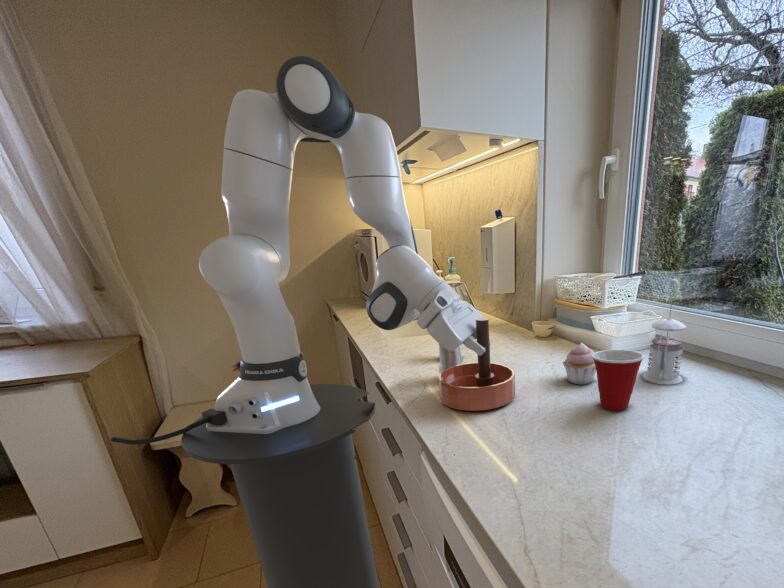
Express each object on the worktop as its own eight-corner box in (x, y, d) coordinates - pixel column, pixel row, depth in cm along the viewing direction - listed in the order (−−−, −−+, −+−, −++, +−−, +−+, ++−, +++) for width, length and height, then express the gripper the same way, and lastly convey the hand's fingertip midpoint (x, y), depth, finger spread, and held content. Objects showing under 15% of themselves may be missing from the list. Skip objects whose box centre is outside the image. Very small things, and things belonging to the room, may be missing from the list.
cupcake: (586, 372, 111) (588, 336, 107) (605, 383, 103) (608, 345, 99) (555, 377, 108) (556, 340, 104) (573, 389, 100) (574, 349, 96)
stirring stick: (475, 391, 93) (471, 321, 87) (475, 384, 97) (472, 317, 91) (495, 390, 93) (492, 321, 87) (494, 383, 97) (492, 316, 91)
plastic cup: (621, 393, 97) (625, 344, 93) (649, 411, 87) (655, 357, 83) (580, 399, 94) (582, 349, 89) (604, 419, 84) (608, 363, 80)
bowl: (437, 415, 87) (434, 389, 85) (444, 386, 103) (442, 363, 101) (517, 412, 88) (517, 386, 86) (512, 383, 104) (512, 361, 102)
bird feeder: (684, 374, 108) (698, 277, 99) (679, 389, 98) (693, 283, 89) (646, 369, 112) (656, 275, 103) (637, 383, 103) (647, 281, 94)
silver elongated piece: (468, 376, 109) (464, 301, 102) (457, 385, 103) (452, 306, 96) (446, 374, 111) (440, 300, 104) (435, 383, 105) (427, 305, 98)
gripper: (449, 306, 101) (489, 346, 102) (412, 325, 82) (462, 374, 83) (465, 288, 98) (506, 329, 100) (431, 304, 79) (482, 354, 81)
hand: (486, 350), depth 91 cm, fingers closed on stirring stick, 3 cm apart
